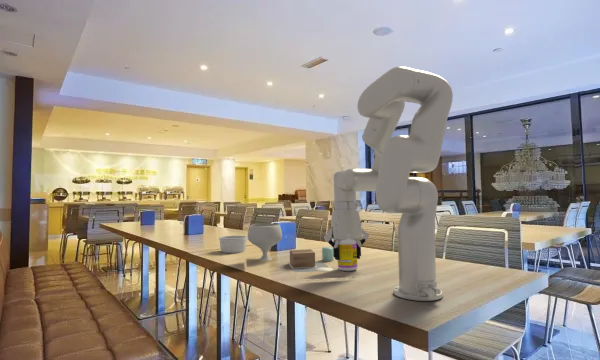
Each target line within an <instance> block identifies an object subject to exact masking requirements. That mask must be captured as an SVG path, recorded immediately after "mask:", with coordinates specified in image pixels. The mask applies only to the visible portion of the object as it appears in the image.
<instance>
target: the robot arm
mask: <svg viewBox="0 0 600 360" xmlns="http://www.w3.org/2000/svg"><path fill="white" fill-rule="evenodd" d="M453 97H454V95H453V89H452V87H451V85H450V83H449V82H448V81H447V80H446V79H445V78H443V77H442V76H440V75H438V74H435V73H432V72H429V71H425V70H420V69H415V68H412V67H407V66H395V67H392V68H390V69H389V70H387V71H386V72H384V74H382V75H381V76H379V77H378V78H377V79H376V80H375V81H373V82H371V83H370V84H369V85H368V86H367V87H366V88H365V89H364V90H363V92H362V93H361V94H360V96H359V97H358V101H357V111H358V114H359V115H360V116H362V117H364V118H368V121H367V123H366V125H365V128H364V131H363V133H362V135H361V138H362V139H361V140H362V141H363V143H364V144H366V145H367V146H368V147H370V148H371V149H373V150H374V153H375V154H374V155H375V156H374V161H373V163H372V165H371V168H348V169H346V170H339V171H336V172H335V173H334V174H333V194H334V195H333V198H334V199H333V200H334V201H333V202H334V204H333V205H334V211H333V210H332V212H331V218H330V219H331V220H330V230H328V232H327V233H326V234H325V235H324V236H323V239H324V240H325V241H326V242H327V243H328V244H329V245H330V247H332V248H333V258H334V260H336V261H338V260H339V248H338V244H339V242H340V240H344V239H347V238H350V239H354V240H356V243H357V260H360V259H361V256H362V249H361V248H362V247H363V245H364V244H365V242H366V241H367V239H368V238H369V237H370V234H369V233H368V232H366V231H365V230H364V229H363V228H362V223H361V221H362V220H361V215H360V212H359V210H357V209H358V208H360V207H361V203H360V202H357V195H356V194H357V193H356V192H374V191H375V201H376V204H377V205H378V208H380V209H379V210H381V211H383V212H384V213H387V214H401V216H400V219H399V222H398V227H397V251H398V254H397V255H398V258H397V259H398V285H396V286H394V287H393V288H392V290H393V291H392V293H393V294H394V295H395V296H396V297H399V298H401V299H406V300H410V301H417V302H431V301H437V300H440V299H442V298H443V295H444V294H443V290H441V289H440V288H438V286H437V273H436V271H437V270H436V269H437V268H436V266H437V265H436V213H437V208H438V207H437V206H438V201H439V194H438V193H439V192H438V189H437V187H436V185H435V184H434V183H433V182H432V181H431V180H429V179H428V178H425V177H419V176H410V173H411V174H412V173H413V174H415V173H416V174H424V173H426V174H427V173H430V172H432V171H434V170H435V169H436V168H437V167H438V165H439V163H440V162H439V161H440V158H441V153H442V148H443V142H444V139H445V138H444V137H445V132H446V126H447V121H448V117H449V113H450V111H451V108H452V103H453ZM406 103H413V104H418V105H420V106H419V108H418V109H417V110H416V112H415V114H414V115H413V118H412V120H411V126H410V130H409V135H406V134H404V135H403V134H400V135H395V136H394V132H395V130H396V129H397V125H398V123H399V122H400V119H401V117H402V114H403V112H404V110H405V105H406ZM347 234H350V236H347ZM332 239H333V240H332Z"/></svg>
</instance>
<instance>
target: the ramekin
mask: <svg viewBox="0 0 600 360" xmlns="http://www.w3.org/2000/svg"><path fill="white" fill-rule="evenodd" d="M218 240H219V246H220V247H219V248H220V250H221V252H222V253H226V254H238V253H243V252H245V250H246V248H247V242H248V241H247V240H248V235H223V236H220V237H219V238H218Z"/></svg>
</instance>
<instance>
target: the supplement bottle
mask: <svg viewBox="0 0 600 360" xmlns="http://www.w3.org/2000/svg"><path fill="white" fill-rule="evenodd" d="M347 236H350V234H347ZM338 248H339V260H337V268H338V270H340V271H342V272H343V271H346V272H350V271H351V272H352V271H356V270H357V269H358V259H357V243H356V240H354V239H350V238H347V239H344V240H340V242H339V244H338Z"/></svg>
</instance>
